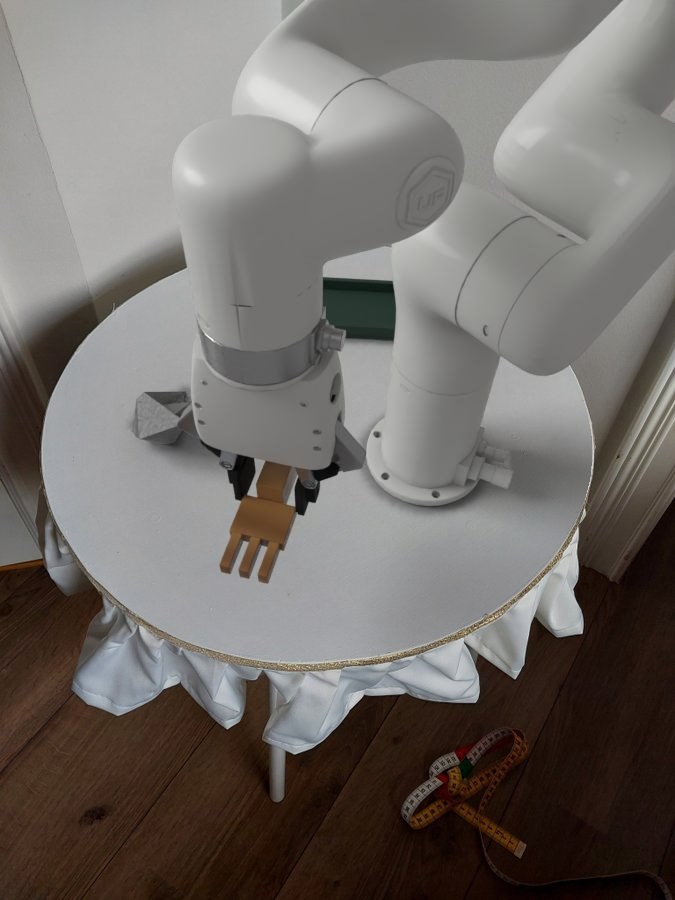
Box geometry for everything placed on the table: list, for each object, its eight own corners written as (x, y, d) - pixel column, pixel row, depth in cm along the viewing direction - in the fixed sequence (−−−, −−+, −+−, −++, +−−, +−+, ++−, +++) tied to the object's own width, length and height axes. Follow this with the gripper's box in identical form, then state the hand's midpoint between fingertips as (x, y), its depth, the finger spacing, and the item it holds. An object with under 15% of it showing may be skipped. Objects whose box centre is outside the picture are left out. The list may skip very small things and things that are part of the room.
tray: (409, 293, 93) (410, 281, 92) (409, 341, 88) (411, 329, 87) (276, 286, 94) (275, 274, 92) (268, 333, 88) (267, 321, 87)
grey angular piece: (119, 389, 81) (193, 352, 81) (149, 437, 84) (220, 401, 84) (112, 424, 70) (197, 381, 70) (146, 477, 73) (228, 435, 73)
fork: (271, 436, 63) (270, 414, 61) (320, 447, 62) (320, 425, 60) (216, 571, 55) (212, 552, 53) (271, 585, 55) (269, 566, 52)
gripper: (408, 315, 45) (386, 479, 60) (157, 266, 48) (195, 436, 62) (382, 403, 41) (365, 557, 56) (107, 345, 43) (160, 507, 58)
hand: (275, 492), depth 59 cm, fingers closed on fork, 4 cm apart
